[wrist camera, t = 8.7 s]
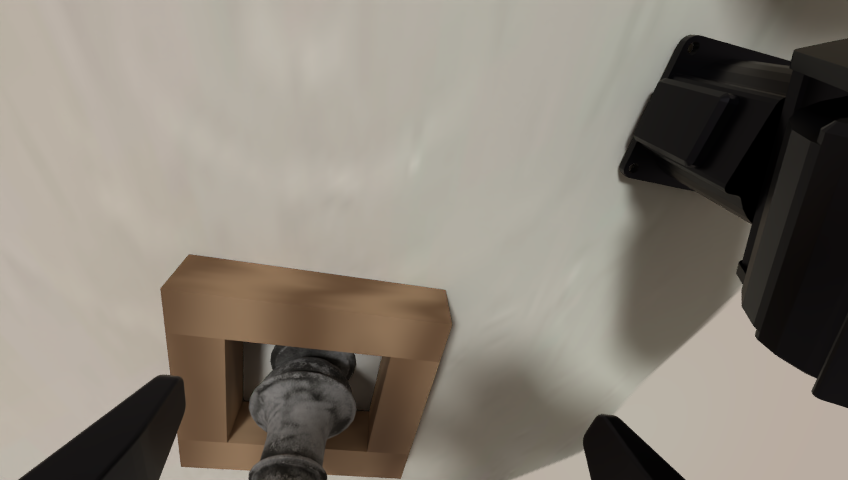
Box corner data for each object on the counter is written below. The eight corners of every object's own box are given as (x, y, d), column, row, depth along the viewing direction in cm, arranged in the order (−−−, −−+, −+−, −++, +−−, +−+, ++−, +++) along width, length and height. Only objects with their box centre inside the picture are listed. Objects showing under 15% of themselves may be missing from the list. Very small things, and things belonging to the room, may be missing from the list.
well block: (445, 289, 23) (452, 324, 21) (399, 438, 30) (400, 478, 27) (188, 254, 21) (160, 288, 18) (200, 423, 28) (181, 466, 25)
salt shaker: (263, 323, 24) (164, 568, 13) (363, 329, 24) (343, 564, 14) (268, 391, 26) (188, 635, 16) (357, 394, 27) (337, 629, 17)
